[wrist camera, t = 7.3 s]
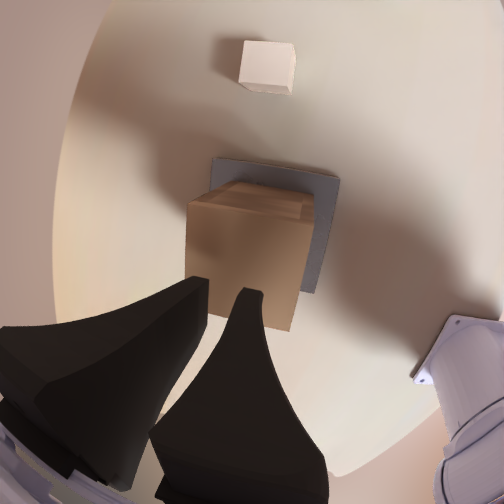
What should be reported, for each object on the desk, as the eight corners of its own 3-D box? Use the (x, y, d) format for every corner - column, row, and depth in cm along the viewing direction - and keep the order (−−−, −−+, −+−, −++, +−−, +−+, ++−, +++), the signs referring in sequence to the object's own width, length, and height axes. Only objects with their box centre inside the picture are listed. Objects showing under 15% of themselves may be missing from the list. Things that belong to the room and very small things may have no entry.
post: (339, 177, 17) (351, 194, 11) (314, 288, 20) (311, 339, 15) (216, 157, 18) (177, 166, 12) (207, 265, 21) (174, 307, 16)
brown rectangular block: (313, 194, 17) (314, 226, 11) (298, 270, 19) (289, 331, 13) (231, 180, 17) (187, 203, 11) (223, 255, 19) (184, 306, 13)
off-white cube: (296, 58, 14) (292, 43, 11) (291, 95, 15) (287, 86, 12) (255, 55, 14) (244, 40, 12) (250, 91, 16) (238, 82, 13)
